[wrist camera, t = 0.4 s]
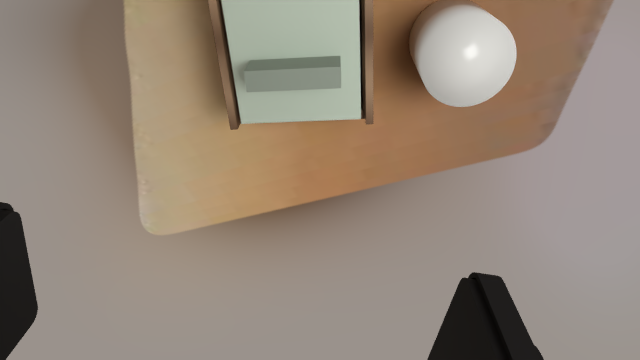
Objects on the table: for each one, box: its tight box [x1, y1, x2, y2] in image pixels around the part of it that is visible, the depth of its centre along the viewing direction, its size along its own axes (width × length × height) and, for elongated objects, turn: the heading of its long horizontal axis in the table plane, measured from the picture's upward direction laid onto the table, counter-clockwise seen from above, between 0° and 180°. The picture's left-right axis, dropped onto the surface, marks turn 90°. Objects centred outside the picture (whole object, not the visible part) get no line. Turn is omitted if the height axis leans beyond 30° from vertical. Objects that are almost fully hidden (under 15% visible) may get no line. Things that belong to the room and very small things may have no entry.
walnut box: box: [208, 0, 373, 130], centre depth 37 cm, size 16×12×6 cm
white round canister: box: [409, 0, 516, 107], centre depth 37 cm, size 7×7×7 cm
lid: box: [221, 0, 361, 124], centre depth 33 cm, size 15×10×4 cm, turn 3°
